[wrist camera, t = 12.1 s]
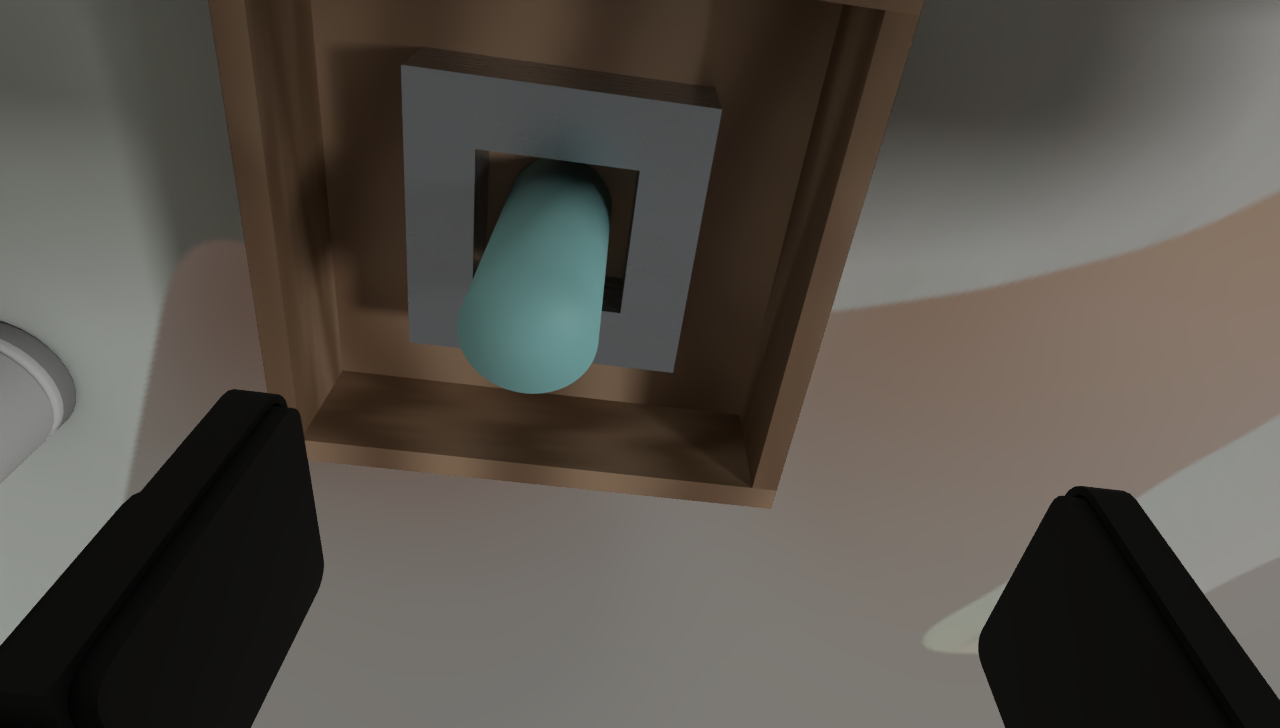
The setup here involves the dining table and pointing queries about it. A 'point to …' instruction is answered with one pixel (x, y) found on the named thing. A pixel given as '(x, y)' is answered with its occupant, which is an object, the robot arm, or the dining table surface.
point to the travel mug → (29, 396)
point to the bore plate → (562, 130)
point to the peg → (540, 281)
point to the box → (725, 254)
